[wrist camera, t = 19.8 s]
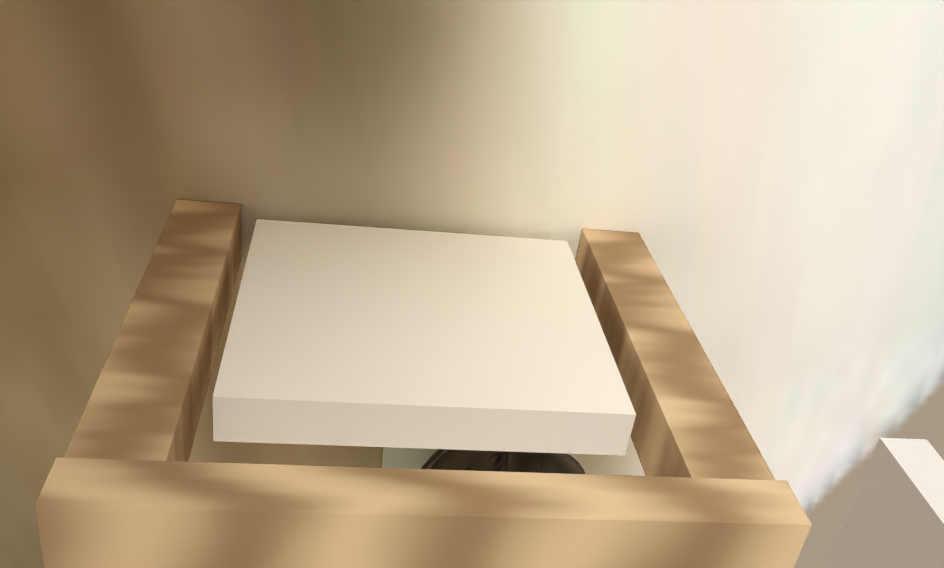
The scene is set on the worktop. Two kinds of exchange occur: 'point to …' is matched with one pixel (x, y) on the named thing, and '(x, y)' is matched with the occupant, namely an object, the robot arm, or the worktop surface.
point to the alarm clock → (503, 461)
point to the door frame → (396, 489)
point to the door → (417, 345)
